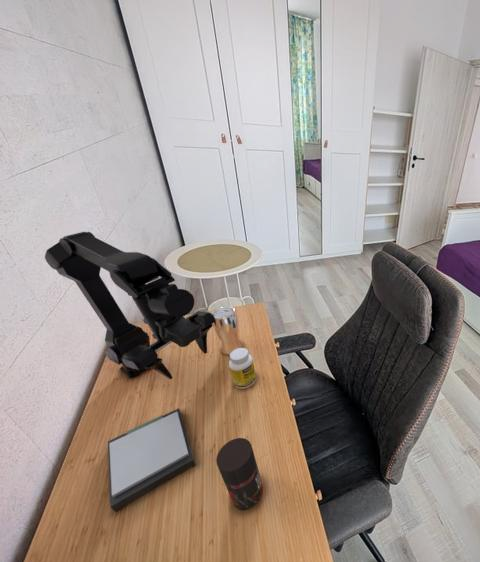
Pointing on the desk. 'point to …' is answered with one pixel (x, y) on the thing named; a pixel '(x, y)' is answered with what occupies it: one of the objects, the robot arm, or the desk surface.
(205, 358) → the desk surface
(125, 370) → the robot arm
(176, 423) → the kitchen scale
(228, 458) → the deodorant
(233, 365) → the pill bottle
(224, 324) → the beer glass
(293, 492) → the desk surface
